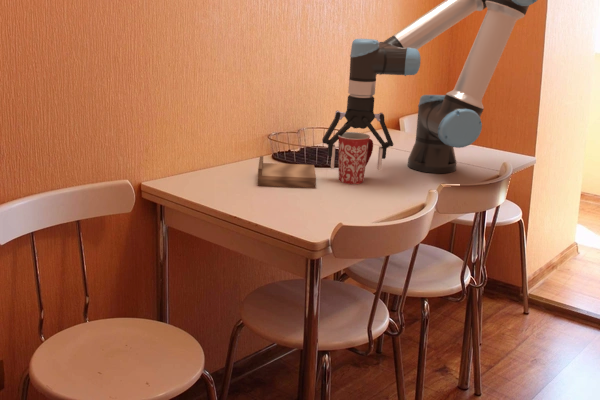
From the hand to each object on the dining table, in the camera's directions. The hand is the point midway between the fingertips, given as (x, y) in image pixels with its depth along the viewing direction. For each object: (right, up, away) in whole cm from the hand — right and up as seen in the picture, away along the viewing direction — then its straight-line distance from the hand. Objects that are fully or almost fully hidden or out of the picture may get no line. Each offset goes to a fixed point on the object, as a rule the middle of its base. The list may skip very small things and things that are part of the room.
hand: (355, 168), depth 203 cm
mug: (0, -3, +1) cm, 4 cm away
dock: (-20, -3, -2) cm, 20 cm away
